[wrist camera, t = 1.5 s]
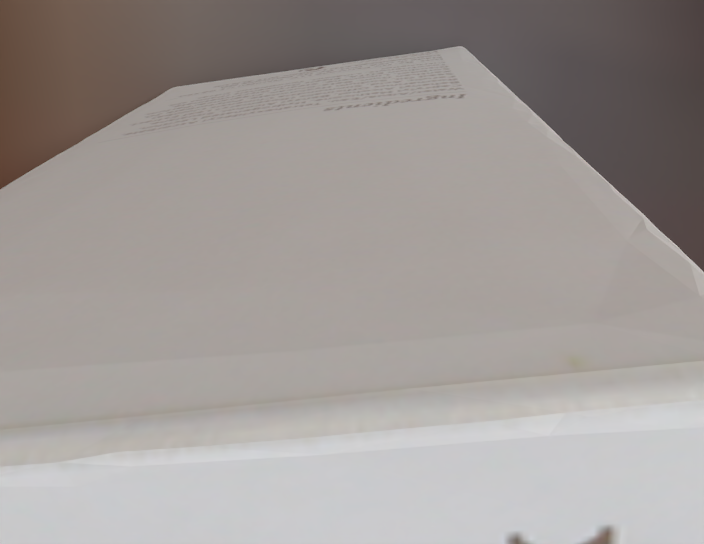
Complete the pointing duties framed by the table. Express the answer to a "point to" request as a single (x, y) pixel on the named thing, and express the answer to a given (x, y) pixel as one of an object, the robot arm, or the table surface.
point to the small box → (343, 325)
